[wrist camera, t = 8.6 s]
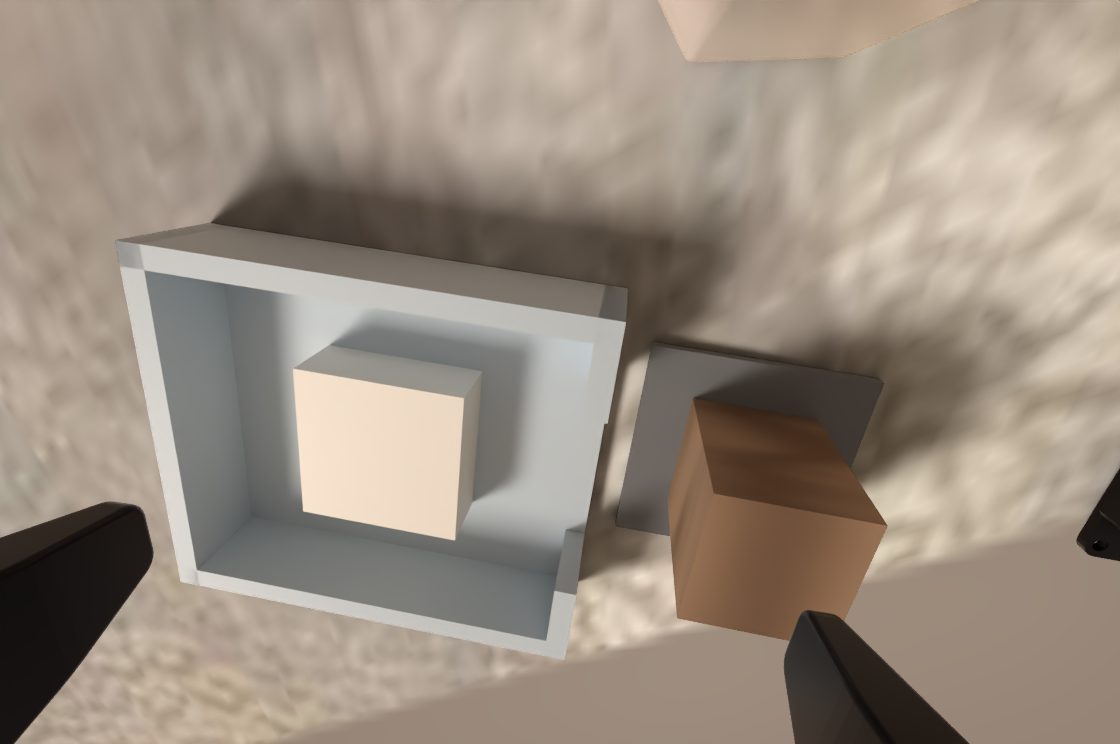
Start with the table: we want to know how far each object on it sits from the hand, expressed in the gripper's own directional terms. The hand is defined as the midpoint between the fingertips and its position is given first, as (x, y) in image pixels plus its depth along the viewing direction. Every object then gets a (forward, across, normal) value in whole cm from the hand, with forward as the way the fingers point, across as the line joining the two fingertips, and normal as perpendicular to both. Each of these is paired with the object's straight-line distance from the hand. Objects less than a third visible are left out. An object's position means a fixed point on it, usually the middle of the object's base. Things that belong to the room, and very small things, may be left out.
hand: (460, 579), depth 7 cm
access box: (+14, +6, +6) cm, 16 cm away
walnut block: (+13, -7, +5) cm, 16 cm away
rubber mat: (+13, -7, +5) cm, 16 cm away
